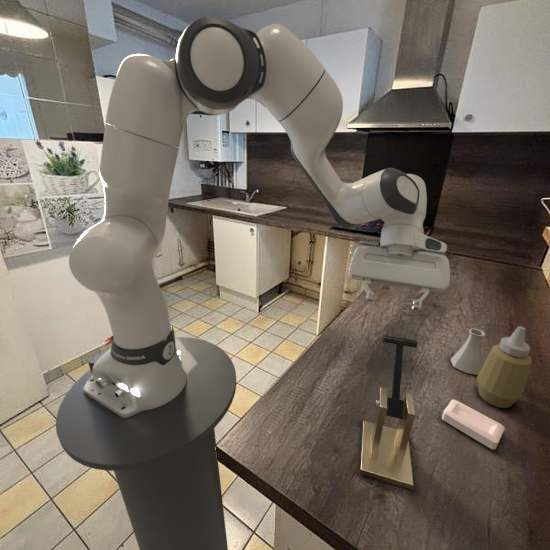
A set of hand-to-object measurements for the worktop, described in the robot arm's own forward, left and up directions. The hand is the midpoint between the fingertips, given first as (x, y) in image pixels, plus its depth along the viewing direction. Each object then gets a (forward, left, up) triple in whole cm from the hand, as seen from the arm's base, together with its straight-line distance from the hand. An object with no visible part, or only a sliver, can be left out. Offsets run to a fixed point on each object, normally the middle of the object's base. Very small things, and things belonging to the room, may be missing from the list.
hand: (392, 304), depth 62 cm
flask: (+21, +11, -20) cm, 31 cm away
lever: (+1, -15, -6) cm, 16 cm away
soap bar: (+17, -9, -20) cm, 27 cm away
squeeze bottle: (+24, +1, -20) cm, 31 cm away
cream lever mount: (+1, -20, -20) cm, 28 cm away
